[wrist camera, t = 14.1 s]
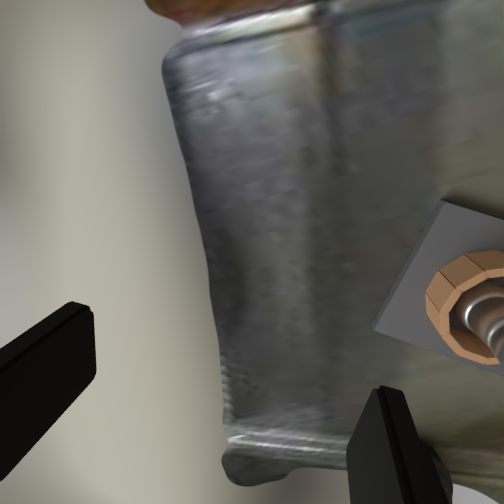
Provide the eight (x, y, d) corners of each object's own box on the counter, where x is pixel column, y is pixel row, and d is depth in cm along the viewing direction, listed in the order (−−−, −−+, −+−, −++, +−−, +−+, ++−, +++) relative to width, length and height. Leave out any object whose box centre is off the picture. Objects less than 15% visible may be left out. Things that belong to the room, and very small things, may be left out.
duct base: (440, 199, 38) (463, 211, 32) (605, 250, 36) (662, 273, 30) (371, 324, 45) (380, 353, 40) (504, 370, 44) (534, 407, 38)
